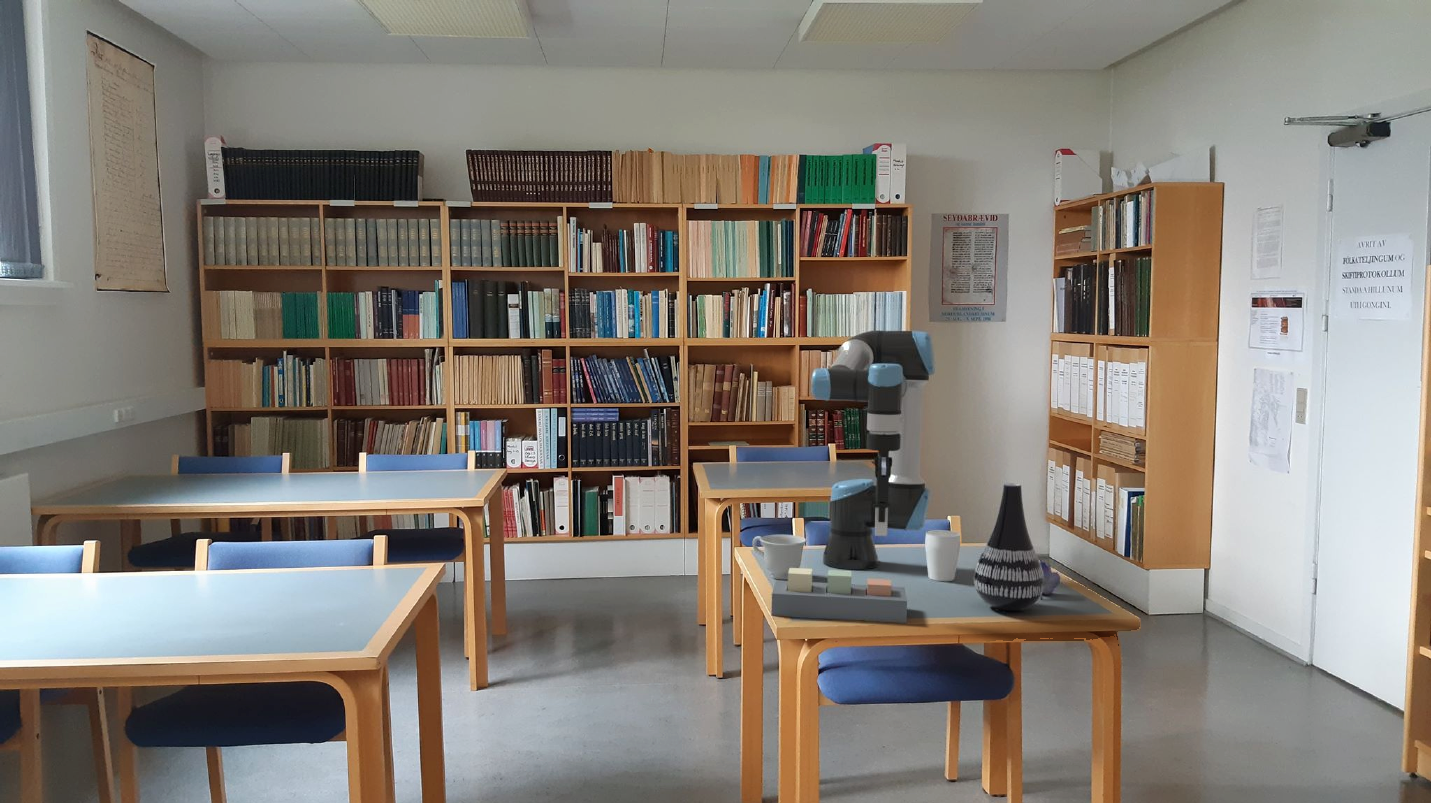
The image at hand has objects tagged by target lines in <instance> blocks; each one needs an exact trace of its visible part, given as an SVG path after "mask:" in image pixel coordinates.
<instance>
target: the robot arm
mask: <svg viewBox="0 0 1431 803" xmlns="http://www.w3.org/2000/svg"><path fill="white" fill-rule="evenodd" d="M933 347H934V345H933V339H932V337H931V335H930V334H929V333H928V332H926V331H918V330H876V329H875V330H869V331H864V332H862V333H859V334H856V335H853V336H852V337H850V338H848V339H847V340H846V341H844V343H843V344H842V345H841V346H840V347H839V350H838V351H837V357H836V359H835V360H834V361H833V363H832V364H831V366H829V367H828V368H827V367H824V368H815V369H814V370H813V372H812V375H811V381H810V382H811V383H810V385H811V387H810V388H811V396H812V397H813V398H814V399H815V400H821V401H826V402H828V401H838V402H840V401H843V402H844V401H845V402H848V401H849V402H867V404H868V405H867V416H866V417H867V418H866V420H867V421H866V430H867V431H869V432H868V433H866V448H867V449H868V450H871V451H875V452H877V456H874V458H873V464H874V475H875V478H876V479H875V480H876V482H874V479H871V478H858V479H847V480H842V481H838V482H835V483H834V484H833V485H832V486H831V491H830V492H831V493H830V500H829V501H830V517H829V518H830V521H829V522H830V525H829V528H830V529H829V536H828V539H827V542H826V545H825V549H824V551H823V554H822V563H823V564H824V565H826V566H827V567H828V566H829V567H831V568H837V569H842V570H843V569H845V570H869V569H873V568H876V567H877V566H878V565H879V555H878V553H877V550H876V549H877V548H876V546H875V542H874V539H873V538H874V537H873V529H874V536H875V537H876V536H877V537H888V530H901V531H904V532H907V531H921V530H922V529H923V528H924V526H925V524H926V518H927V514H928V510H929V509H928V508H929V503H930V498H931V497H930V495H931V489H929V488H928V487H926V481H925V480H924V479H923V477H921V475H920V474H921V473H920V472H921V446H922V445H921V443H922V421H923V420H922V417H923V416H922V415H923V390H924V389H923V388H924V387H925V386H926V384H928V383H929V382H930V376H932V375H935V371H936V370H935V356H934V355H935V354H934V348H933ZM875 483H876V484H875Z"/></svg>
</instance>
